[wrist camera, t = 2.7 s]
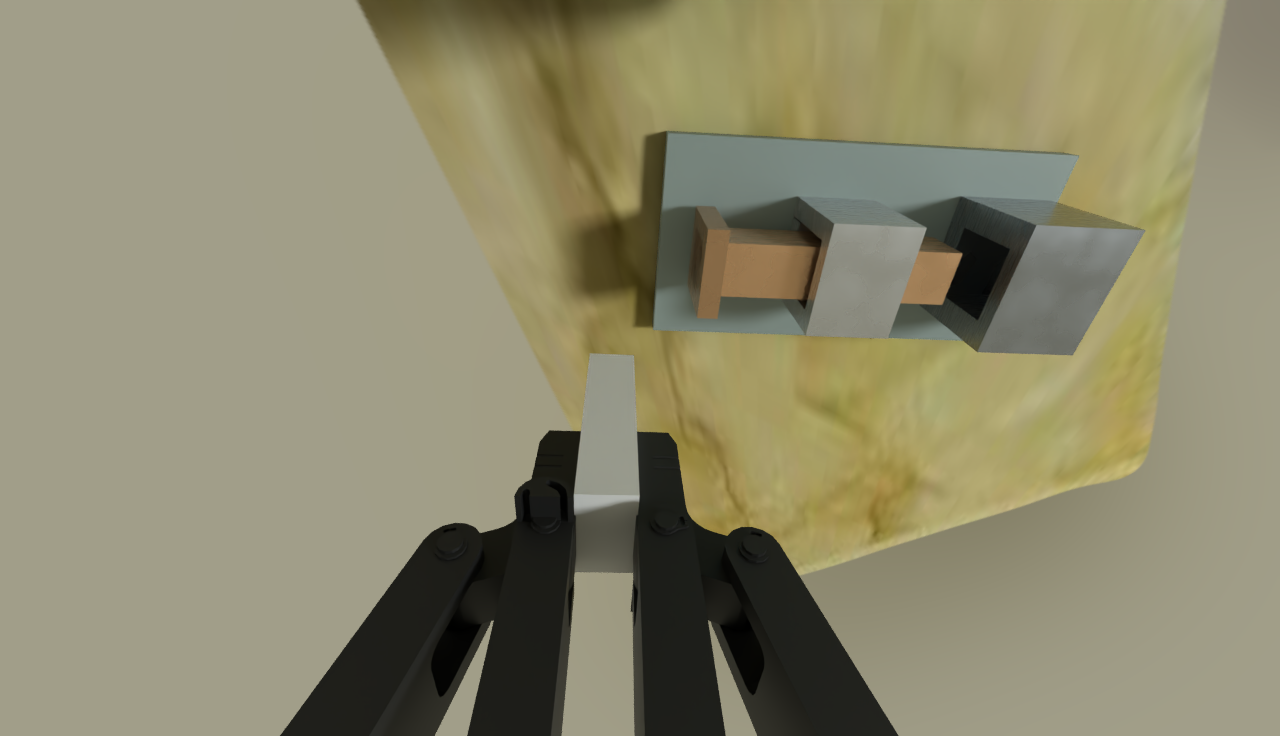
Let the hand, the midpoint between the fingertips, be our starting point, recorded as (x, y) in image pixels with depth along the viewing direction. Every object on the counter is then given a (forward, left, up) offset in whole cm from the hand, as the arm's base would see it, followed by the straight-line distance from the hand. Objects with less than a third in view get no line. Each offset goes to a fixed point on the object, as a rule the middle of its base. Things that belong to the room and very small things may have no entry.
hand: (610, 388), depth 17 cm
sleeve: (0, +14, -18) cm, 22 cm away
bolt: (0, +12, -17) cm, 21 cm away
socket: (0, +25, -18) cm, 30 cm away
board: (0, +16, -19) cm, 24 cm away
